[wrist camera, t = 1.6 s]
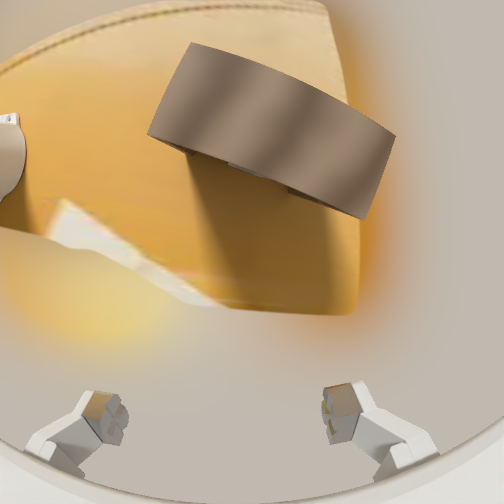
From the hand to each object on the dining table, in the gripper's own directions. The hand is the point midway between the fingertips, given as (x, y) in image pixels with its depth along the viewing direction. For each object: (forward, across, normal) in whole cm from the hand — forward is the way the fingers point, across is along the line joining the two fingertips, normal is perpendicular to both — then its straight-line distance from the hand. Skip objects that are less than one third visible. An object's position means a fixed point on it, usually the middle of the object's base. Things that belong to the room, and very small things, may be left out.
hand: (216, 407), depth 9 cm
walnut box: (+35, -3, -11) cm, 37 cm away
